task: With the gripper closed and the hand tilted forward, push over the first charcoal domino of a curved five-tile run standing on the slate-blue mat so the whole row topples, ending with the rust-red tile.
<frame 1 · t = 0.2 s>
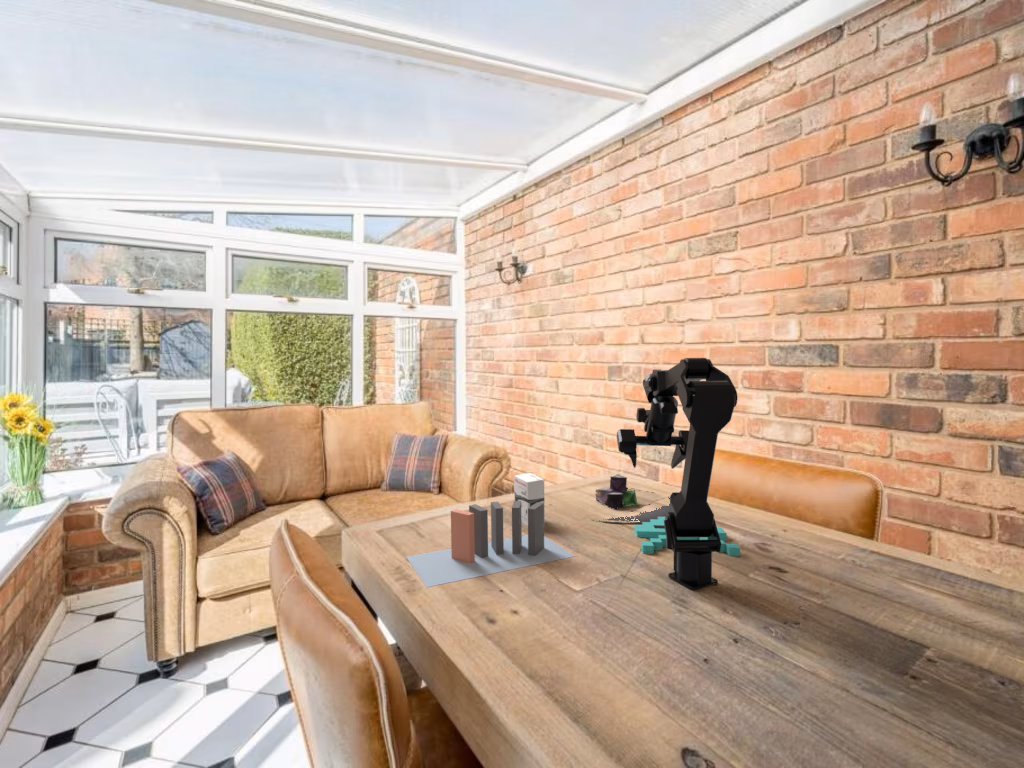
hand: (653, 466, 126), 15 cm above the table, tool tilted 30°, fingers open, 9 cm apart
ink box: (529, 522, 130), on the table
domino 5: (463, 559, 106), resting on mat
alien figure: (680, 540, 118), on the table
mat: (490, 558, 107), on the table
domino 3: (497, 550, 111), resting on mat
domino 2: (517, 549, 111), resting on mat
domino 1: (536, 551, 110), resting on mat
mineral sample: (619, 507, 145), on the table
domino 4: (478, 553, 109), resting on mat
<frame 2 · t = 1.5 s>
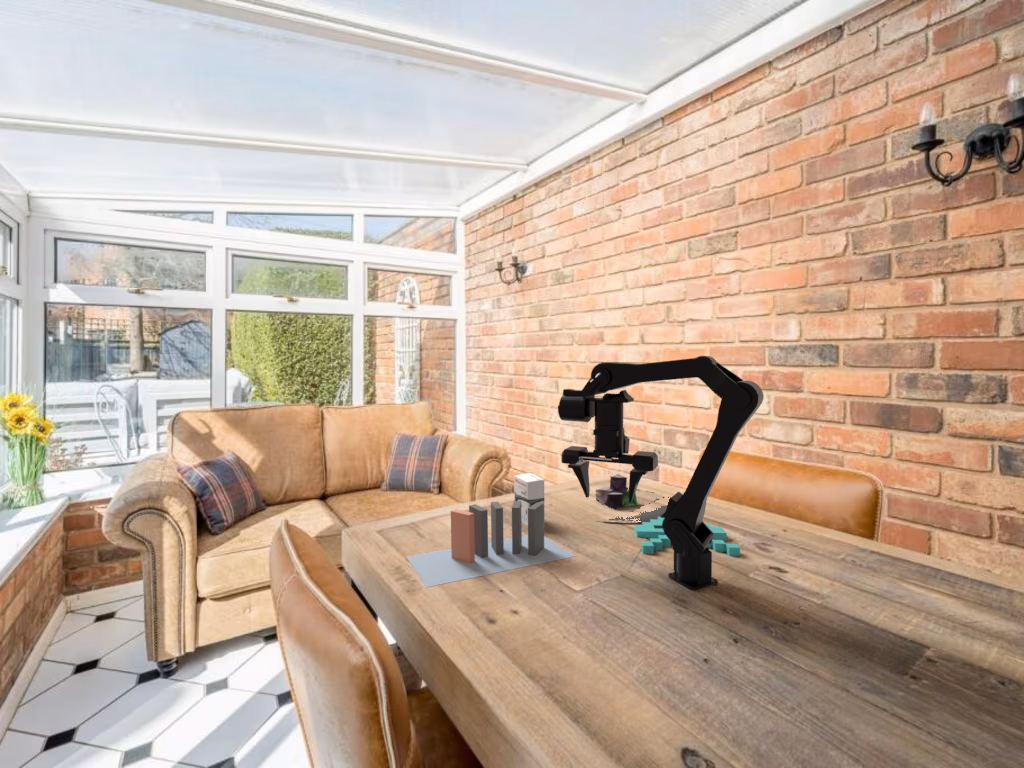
hand: (608, 499, 104), 13 cm above the table, tool pointing down, fingers open, 9 cm apart
nothing on the table moved.
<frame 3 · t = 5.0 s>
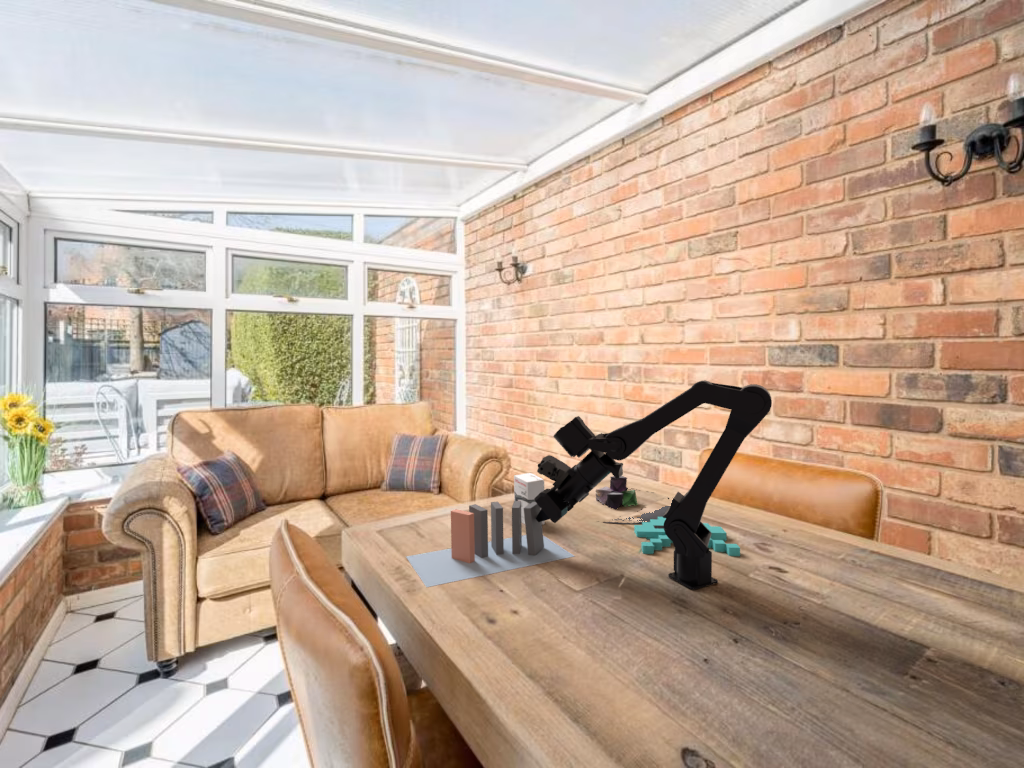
hand: (537, 519, 109), 7 cm above the table, tool tilted 45°, fingers closed
domino 1: (536, 550, 110), resting on mat, tilted 6°, touching gripper
everything else where it was.
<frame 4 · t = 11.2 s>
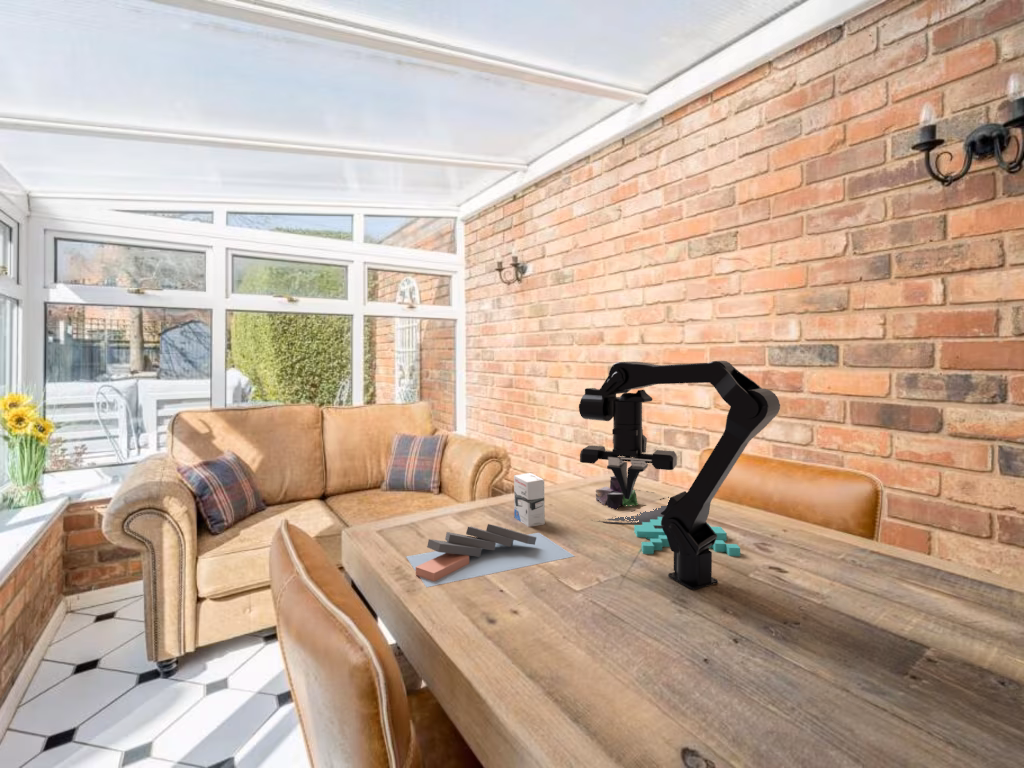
hand: (627, 498, 105), 13 cm above the table, tool pointing down, fingers closed
domino 5: (460, 557, 105), point 1 cm above the table, tilted 90°, touching domino 4, mat
domino 3: (492, 545, 110), point 2 cm above the table, tilted 74°, touching domino 2, domino 4, mat
domino 2: (512, 542, 111), point 2 cm above the table, tilted 76°, touching domino 1, domino 3, mat
domino 1: (532, 540, 110), point 3 cm above the table, tilted 82°, touching domino 2
domino 4: (474, 550, 108), point 1 cm above the table, tilted 71°, touching domino 3, domino 5, mat
everything else where it was.
at the end: domino 5 tilted 90°; domino 1 tilted 82° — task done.
